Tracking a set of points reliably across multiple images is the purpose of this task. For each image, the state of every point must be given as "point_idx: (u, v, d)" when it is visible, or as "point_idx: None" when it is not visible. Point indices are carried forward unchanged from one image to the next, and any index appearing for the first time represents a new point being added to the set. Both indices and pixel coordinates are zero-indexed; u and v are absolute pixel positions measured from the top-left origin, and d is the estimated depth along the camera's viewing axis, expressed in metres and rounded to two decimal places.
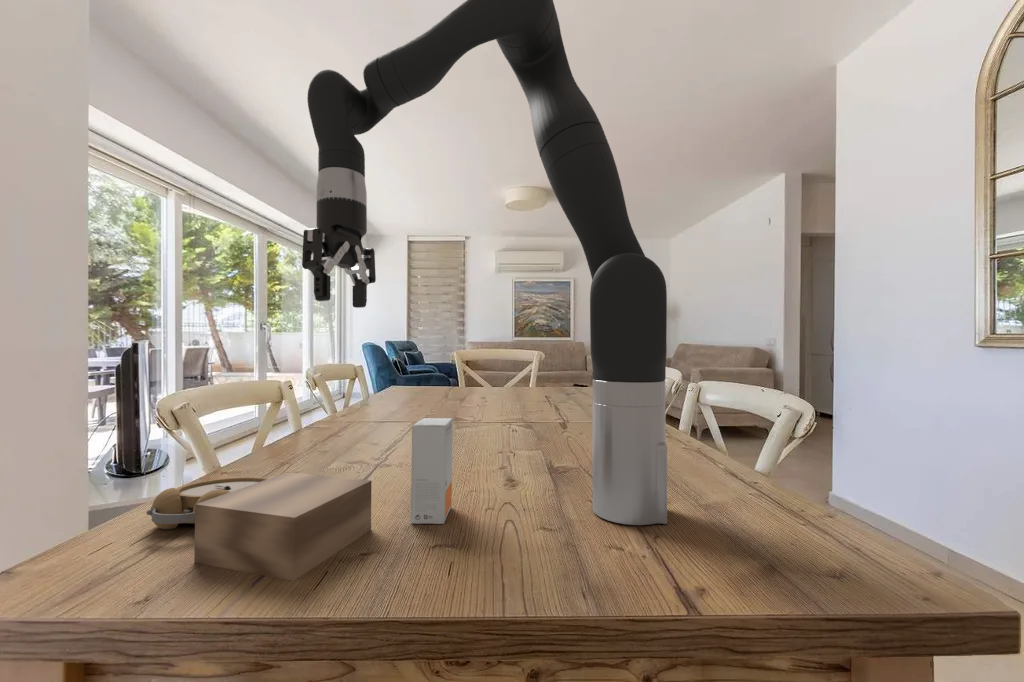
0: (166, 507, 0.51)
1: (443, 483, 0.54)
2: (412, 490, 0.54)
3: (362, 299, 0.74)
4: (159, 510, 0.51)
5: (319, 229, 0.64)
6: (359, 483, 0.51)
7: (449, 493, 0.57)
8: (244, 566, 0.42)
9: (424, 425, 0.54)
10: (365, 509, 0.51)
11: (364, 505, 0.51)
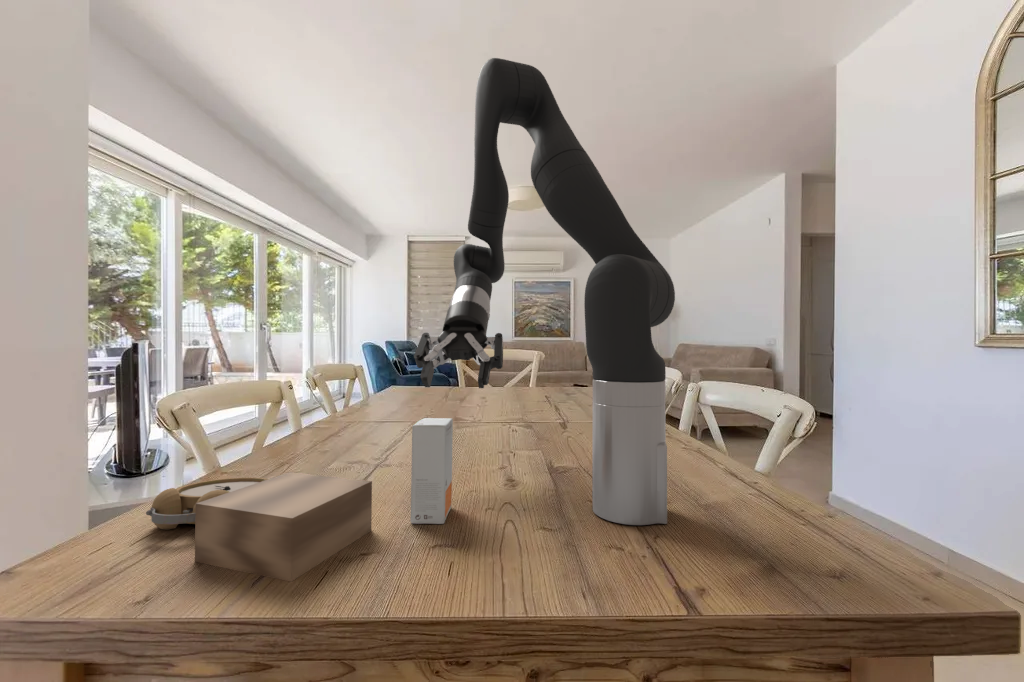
0: (165, 507, 0.51)
1: (443, 483, 0.54)
2: (412, 490, 0.54)
3: (479, 375, 0.68)
4: (159, 511, 0.51)
5: (425, 333, 0.75)
6: (359, 484, 0.51)
7: (449, 493, 0.57)
8: (243, 566, 0.42)
9: (424, 425, 0.54)
10: (365, 510, 0.51)
11: (364, 506, 0.51)
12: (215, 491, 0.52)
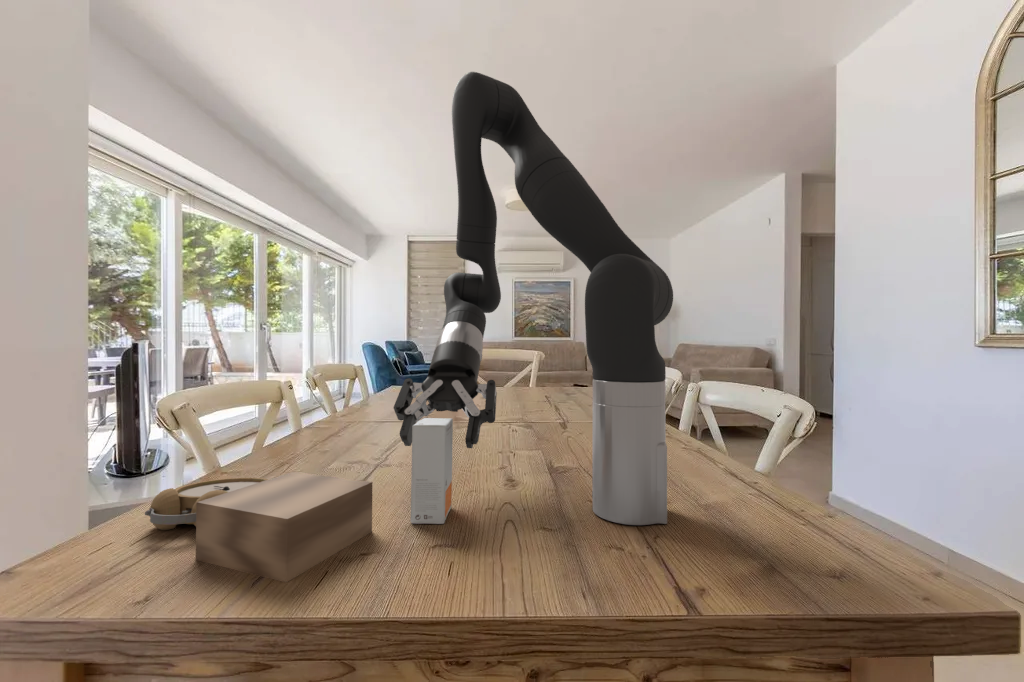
0: (164, 508, 0.51)
1: (443, 483, 0.54)
2: (412, 490, 0.54)
3: None
4: (157, 511, 0.51)
5: None
6: (359, 484, 0.50)
7: (449, 493, 0.57)
8: (240, 565, 0.42)
9: (424, 425, 0.54)
10: (365, 511, 0.50)
11: (364, 507, 0.50)
12: (214, 491, 0.52)
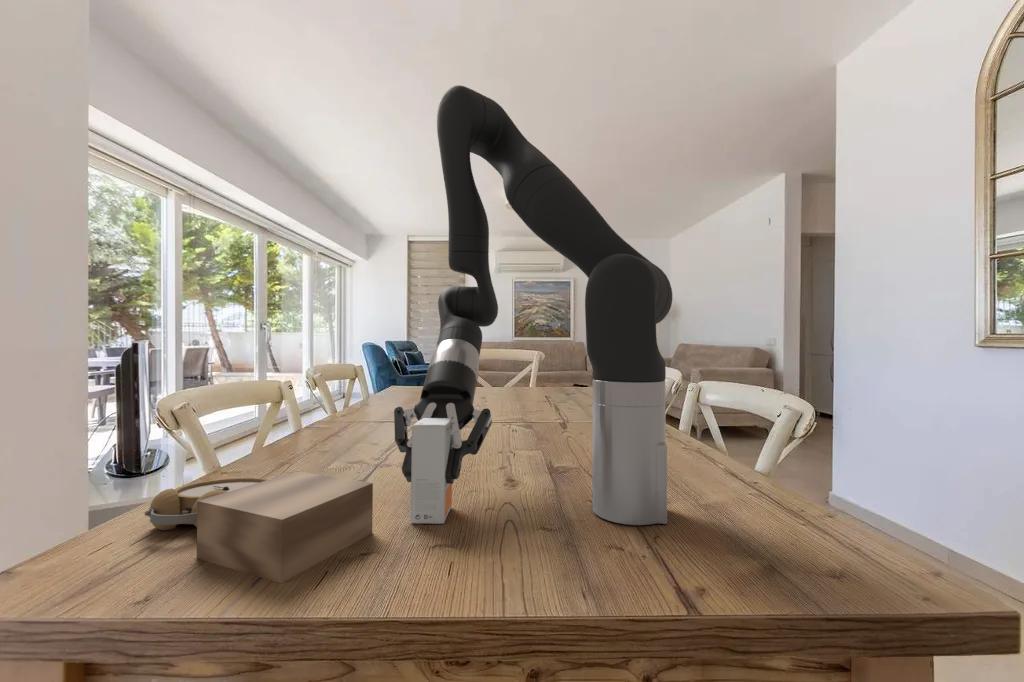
0: (164, 508, 0.51)
1: (443, 483, 0.54)
2: (412, 490, 0.54)
3: None
4: (157, 511, 0.51)
5: (397, 408, 0.61)
6: (359, 485, 0.50)
7: (449, 493, 0.57)
8: (238, 565, 0.42)
9: (424, 425, 0.54)
10: (365, 512, 0.50)
11: (364, 508, 0.50)
12: (214, 491, 0.52)
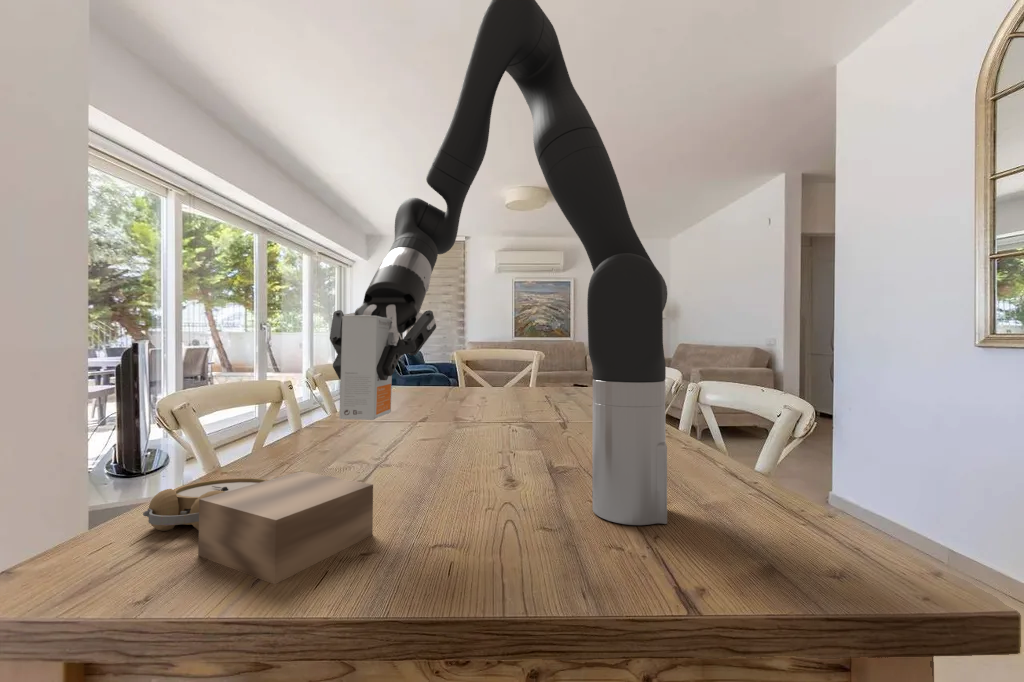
0: (163, 508, 0.50)
1: (374, 377, 0.50)
2: (341, 384, 0.51)
3: None
4: (156, 512, 0.50)
5: (336, 311, 0.58)
6: (359, 486, 0.50)
7: (385, 394, 0.54)
8: (236, 564, 0.42)
9: (355, 316, 0.51)
10: (365, 514, 0.50)
11: (364, 509, 0.49)
12: (212, 492, 0.52)
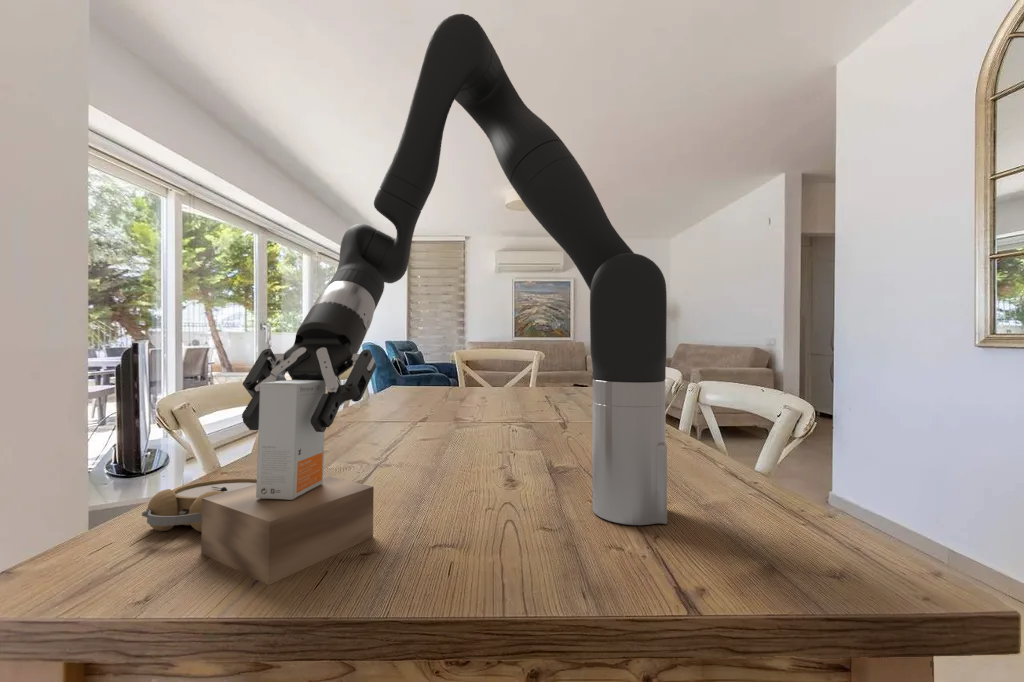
0: (161, 509, 0.50)
1: (293, 451, 0.45)
2: (258, 459, 0.46)
3: None
4: (155, 512, 0.50)
5: (265, 350, 0.54)
6: (359, 489, 0.49)
7: (312, 466, 0.49)
8: (234, 564, 0.43)
9: (274, 383, 0.46)
10: (364, 517, 0.49)
11: (363, 512, 0.49)
12: (211, 492, 0.52)
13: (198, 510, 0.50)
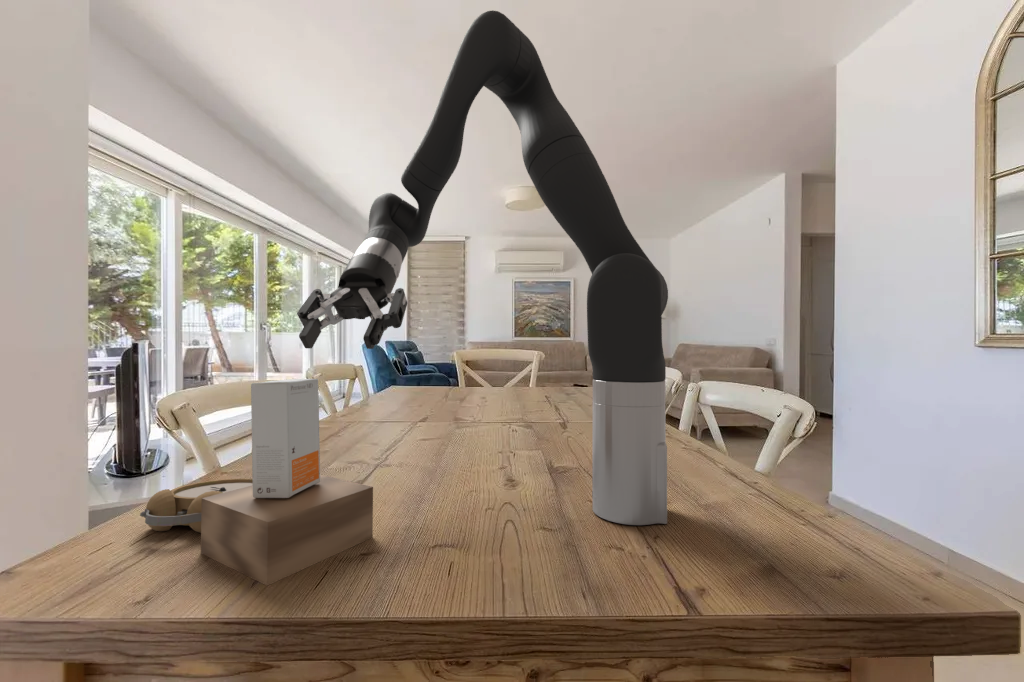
0: (160, 509, 0.50)
1: (287, 450, 0.45)
2: (253, 459, 0.46)
3: None
4: (153, 512, 0.50)
5: (316, 289, 0.65)
6: (359, 489, 0.49)
7: (308, 464, 0.49)
8: (233, 564, 0.43)
9: (264, 383, 0.46)
10: (364, 517, 0.49)
11: (363, 512, 0.49)
12: (210, 492, 0.51)
13: (196, 510, 0.50)
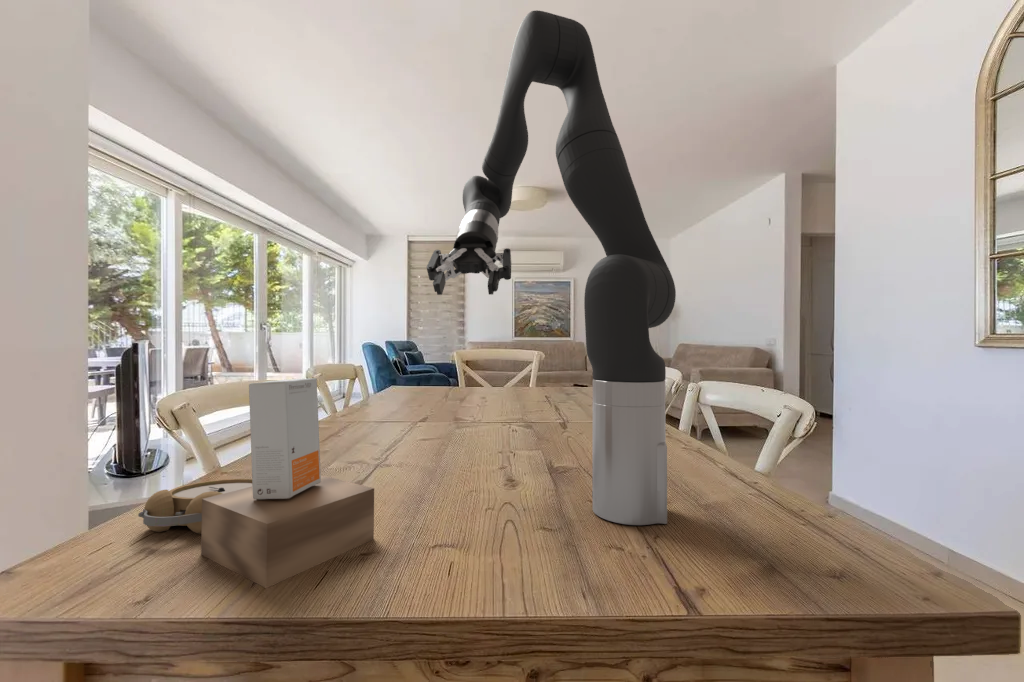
0: (158, 509, 0.50)
1: (286, 450, 0.45)
2: (252, 460, 0.45)
3: None
4: (151, 512, 0.50)
5: (436, 250, 0.79)
6: (360, 490, 0.49)
7: (308, 464, 0.48)
8: (232, 566, 0.42)
9: (262, 383, 0.46)
10: (365, 518, 0.48)
11: (364, 514, 0.48)
12: (208, 493, 0.51)
13: (194, 511, 0.50)
